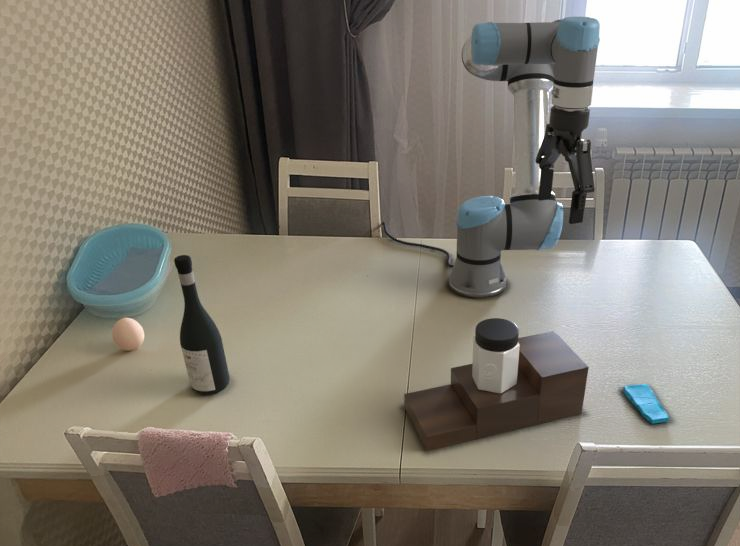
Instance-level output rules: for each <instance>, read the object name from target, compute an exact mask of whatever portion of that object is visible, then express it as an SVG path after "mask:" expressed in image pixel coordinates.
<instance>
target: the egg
mask: <svg viewBox="0 0 740 546" xmlns="http://www.w3.org/2000/svg"><path fill="white" fill-rule="evenodd" d="M111 335H112V336H111V337H112V341H113V342H114V344H115V346H117V347H118V348H119V349H121V350H123V351H127V352H128V351H129V352H131V351H135V350H138V349H139V348H140V347H141V346H142V345H143V343H144V341H145V331H144V328H143V326H142V325H141V324H140V323H139V322H138V321H137V320H135V319H134V318H131V317H122V318H120V319H118V320H117V321H116V322H115V324H114V325H113V327H112V331H111Z"/></svg>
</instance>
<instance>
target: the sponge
mask: <svg viewBox="0 0 740 546" xmlns="http://www.w3.org/2000/svg"><path fill="white" fill-rule="evenodd" d="M623 394H624V395H625V397H626V399H628V401H631V403H632V405H633V406H634V407H635V408H636V409H637V410H638V411H639V412H640V414H641V416H642V417H644V418H645V419H646V420H647V421H648V422H649V423H651V424H652V425H654V424H659V423H666V422H669V421H670V416H669V414H668V412H667V411H666V410H665V409H664V407H663V405H662V404H661V402H660V401H659V399H658V398H657V396H656V394H655V392H654V391H653V390H652V388H651V386H650V385H649V384H648V383H639V384H631V385H625V386H623Z"/></svg>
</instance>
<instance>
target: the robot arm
mask: <svg viewBox="0 0 740 546" xmlns="http://www.w3.org/2000/svg"><path fill="white" fill-rule="evenodd" d="M600 26H601V25H600V22H599V20H597V19H596V18H594V17H589V16H567V17H563V18H561V19H555V20H553V21H548V22H547V21H545V22H543V21H542V22H541V21H540V22H539V21H538V22H493V21H488V22H483V23H482V22H481V23H480V22H479V23H476V24H474V25H473V27H472V30H471V36H470V37H469V38H467V40H466V41H465V42H464V44H463V46H462V50H461V61H462V65H463V67H464V68H465V70H466V71H467V72H468V73H469V74H470V75H473V76H474V77H477V78H479V79H481V80H485V81H491V82H507V90H508V91H509V92H510V93H511V94H512V95H513V105H514V107H513V110H514V162H515V163H514V165H515V166H514V167H515V169H514V171H515V190H514V192H513V193H512V194H511V195H510V197H509V203H505V202H504V200H503V199H502V198H501V197H499V196H492V195H482V196H475V197H473V198H472V197H471V198H469V199H466V201H464V202H462V203H461V204H460V206H458V209H457V218H456V222H455V223H456V256H455V260H454V263H453V264H452V263H451V254H450V253H449V252H448V251H447V250H445V249H443V248H440V247H436V246H432V245H427V244H423V243H416V242H409V241H404V240H401V239H398V238H396V237H394V236H392V235H391V234H390V232H389V231H388V229H387V222H386V221H382V222H381V225H382V226H383V231H384V233H385V235H386V236H387V237H388V238H389V239H391V240H392V241H394V242H396V243H398V244H402V245H405V246H411V247H419V248H424V249H429V250H433V251H438V252H441V253H443V254H445V255H446V256H447V259H446V260H447V261H446V264H447V266H448V267H449V268H451V271H450V273H449V278H448V286H449V288H450V289H451V290H452V291H453V292H455V293H456V294H458V295H460V296H463V297H467V298H473V299H475V298H476V299H484V298H491V297H494V296H497V295H499V294H501V293H502V292H503V291H505V289H506V287H507V276H506V272H505V270H504V266H503V262H502V251H529V250H531V251H533V250H536V251H540V250H550V249H553V248H554V247H556V245H557V244H558V242H559V240H560V238H561V234H562V229H563V224H564V207H563V204H562V203H561V202H558V201H557V195H556V193H554V192H553V181H554V173H555V170H554V168H555V163H556V162H557V160H558V159H559V157H560V156H562V157H564V161H565V162H567V163H568V168H569V172H570V175H571V180H572V182H573V183H572V184H573V188H574V190H573V191H571V200H570V201H571V202H570V209H569V218H568V224H570V225H573V224H582V223H583V222H584V213H585V207H586V202H587V195H588V194H592V193H595V182H594V172H593V165H592V164H593V163H592V154H591V148H592V141H591V139H583V137H582V135H583V134H582V133H583V131H584V130H586V129H587V128H588V127H589V121H590V115H591V114H590V113H591V110H590V108H589V107H590V106H591V105H592V101H593V100H592V99H593V90H594V81H595V72H596V63H597V57H598V49H599V44H600V28H601V27H600ZM549 93H551V104H552V106H551V108H550V112H549ZM549 113H550V114H549ZM397 239H398V240H397Z"/></svg>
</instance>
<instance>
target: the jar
mask: <svg viewBox="0 0 740 546" xmlns="http://www.w3.org/2000/svg"><path fill="white" fill-rule="evenodd" d="M474 330H475V331H474V336H473V338H472V339H473V340H472V363H471V364H472V377H473V379H474V381H475V384H476V386H477V388H478V389H479V390H484V391H489V392H494V393H500V394H501V393H503V392H504V391H506V390H508V389H509V388H511V387H513V386H514V385H516V384H517V373H518V361H519V349H520V344H519V343H518V338H519V334H520V333H519V332H520V329H519V327H518V325H517V324H516V323H515V322H513V321H511V320H508V319H505V318H500V317H498V318H497V317H492V318H485V319H483V320H481V321H479V322H478V323H477V324H476V325H475V329H474Z"/></svg>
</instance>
